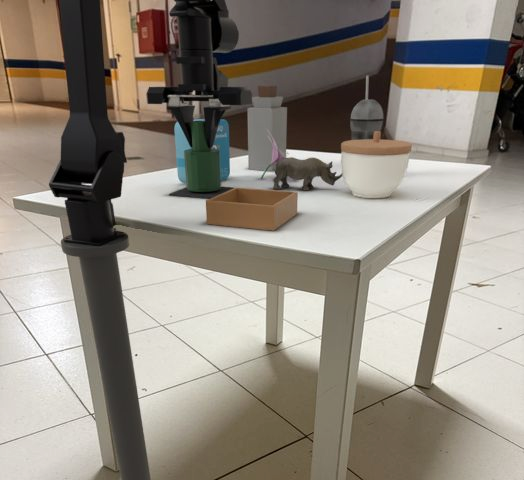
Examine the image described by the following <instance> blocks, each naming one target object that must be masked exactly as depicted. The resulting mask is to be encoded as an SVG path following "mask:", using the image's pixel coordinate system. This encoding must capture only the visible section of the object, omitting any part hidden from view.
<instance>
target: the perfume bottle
mask: <svg viewBox="0 0 524 480" xmlns="http://www.w3.org/2000/svg"><path fill="white" fill-rule="evenodd" d="M277 90H278V86H277V85H258V86H257V92H258V93H257V94H258V96H252V105H253V107H247V157H248V158H247V160H248V165H247V166H248V168H247V169H248V170H256V171H264V172H265V170H266V168H267V167H268V166H269V165H270V163H271V162H272V154H273V145H272V143H273V144H274V142H273V139H274V140H275V142H276V145H277V149H279V150H281V151H282V153H284V152H285V151H286V152H285V153H287V130H288V129H287V128H288V126H287V125H288V107H287V106H285V107H284V106H282V103H283V100H284V96H277V93H278V91H277ZM266 128H267V129H266ZM268 131H269V132H270V133H269V132H268ZM270 134H271V135H270ZM271 136H272V137H273V139H272V137H271ZM268 137H269V138H270V139H271V141H272V143H271V141H270V139H269V138H268ZM285 153H284V154H285ZM284 154H283V155H284ZM286 155H287V154H286ZM286 155H284V157H285V158H287V156H286ZM275 170H276V164H272V165H271V166H270V167H269V168H268V169H267V171H266V172H275Z"/></svg>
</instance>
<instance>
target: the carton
mask: <svg viewBox="0 0 524 480" xmlns="http://www.w3.org/2000/svg"><path fill="white" fill-rule="evenodd" d="M298 196H299V192H298V191H289V190H277V189H262V188H245V187H233V189H231V190H229V191H227V192H224V193H222V194H220V195H218V196H215V197H213V198H211V199H206V200H205V215H206V224H207V225H214V226H223V227H232V228H233V227H234V228H242V229H253V230H261V231H263V230H264V231H271V232H272V231H273V232H274V231H277V229H278V228H280V227H281V226H282V225H284V224H285V223H287V222H288V221H290V220H291V219H292V218H293V217H295V216H297V215H298Z"/></svg>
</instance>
